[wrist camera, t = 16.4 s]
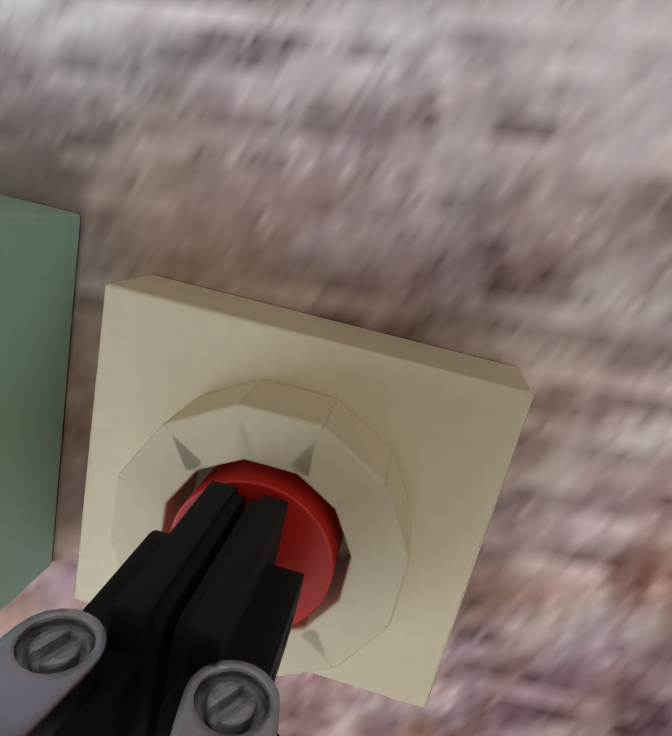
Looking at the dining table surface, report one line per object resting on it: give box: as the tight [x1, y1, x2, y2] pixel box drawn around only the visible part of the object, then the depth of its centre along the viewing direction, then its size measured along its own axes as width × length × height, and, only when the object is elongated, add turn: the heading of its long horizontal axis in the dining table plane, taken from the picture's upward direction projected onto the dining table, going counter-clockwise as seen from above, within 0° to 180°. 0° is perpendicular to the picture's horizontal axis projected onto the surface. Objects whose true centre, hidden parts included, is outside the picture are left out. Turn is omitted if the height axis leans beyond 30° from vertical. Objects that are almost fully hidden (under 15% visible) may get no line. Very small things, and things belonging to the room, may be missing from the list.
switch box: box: [74, 274, 533, 708], centre depth 14 cm, size 10×9×4 cm
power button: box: [170, 459, 344, 624], centre depth 13 cm, size 4×4×2 cm
